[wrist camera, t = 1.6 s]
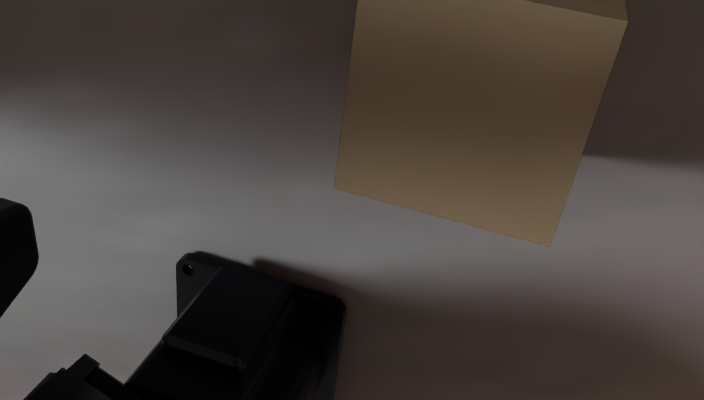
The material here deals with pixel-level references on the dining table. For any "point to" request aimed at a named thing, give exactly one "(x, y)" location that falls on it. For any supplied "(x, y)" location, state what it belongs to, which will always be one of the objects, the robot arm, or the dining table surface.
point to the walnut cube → (475, 106)
